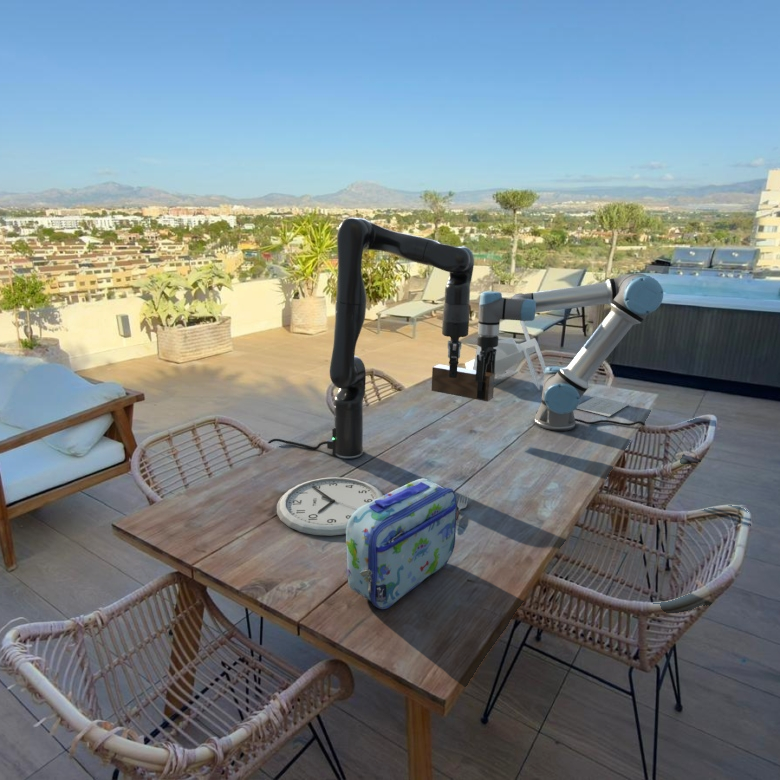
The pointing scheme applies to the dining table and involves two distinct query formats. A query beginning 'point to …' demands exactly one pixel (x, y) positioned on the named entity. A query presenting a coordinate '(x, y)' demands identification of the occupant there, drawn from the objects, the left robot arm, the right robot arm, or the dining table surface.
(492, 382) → the bar
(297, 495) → the wall clock
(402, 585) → the lunch box
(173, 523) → the dining table surface
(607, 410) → the grey wooden board
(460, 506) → the fork
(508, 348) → the white plastic object
